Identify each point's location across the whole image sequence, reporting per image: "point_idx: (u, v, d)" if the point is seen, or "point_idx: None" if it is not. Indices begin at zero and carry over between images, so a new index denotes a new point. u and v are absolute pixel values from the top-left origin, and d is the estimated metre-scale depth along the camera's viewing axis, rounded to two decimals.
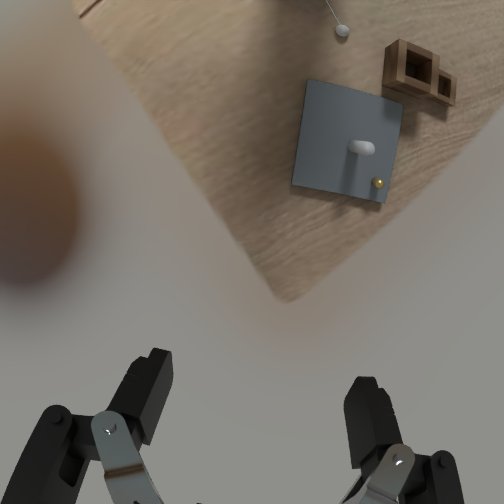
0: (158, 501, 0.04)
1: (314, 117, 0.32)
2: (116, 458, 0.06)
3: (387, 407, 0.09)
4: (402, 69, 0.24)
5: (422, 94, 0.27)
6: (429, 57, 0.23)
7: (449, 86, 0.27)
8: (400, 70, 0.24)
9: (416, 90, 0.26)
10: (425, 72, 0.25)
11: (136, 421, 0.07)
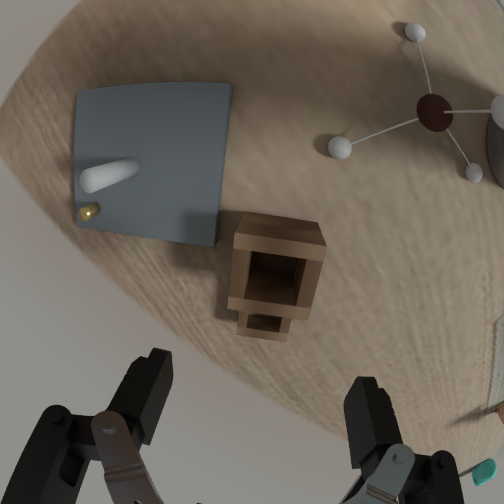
0: (158, 501, 0.04)
1: (165, 99, 0.19)
2: (116, 458, 0.06)
3: (387, 407, 0.09)
4: (259, 246, 0.19)
5: None
6: (299, 301, 0.20)
7: (268, 328, 0.25)
8: (256, 242, 0.18)
9: None
10: (274, 290, 0.22)
11: (136, 421, 0.07)
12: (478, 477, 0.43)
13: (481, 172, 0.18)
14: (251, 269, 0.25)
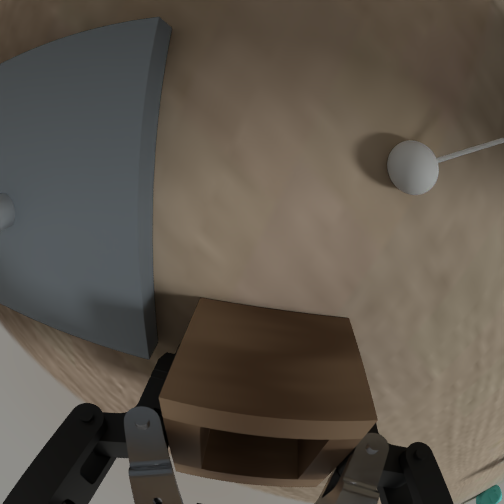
0: (179, 501, 0.05)
1: (40, 77, 0.07)
2: (144, 454, 0.06)
3: None
4: (221, 423, 0.07)
5: None
6: (304, 475, 0.08)
7: None
8: (212, 417, 0.07)
9: None
10: (260, 441, 0.10)
11: None
12: None
13: None
14: None
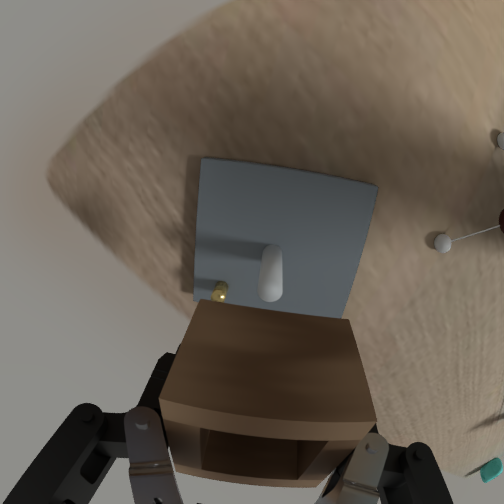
0: (180, 501, 0.05)
1: (315, 193, 0.21)
2: (144, 454, 0.06)
3: None
4: (221, 424, 0.07)
5: None
6: (304, 476, 0.08)
7: None
8: (212, 418, 0.07)
9: None
10: (260, 442, 0.10)
11: None
12: (486, 474, 0.46)
13: None
14: None
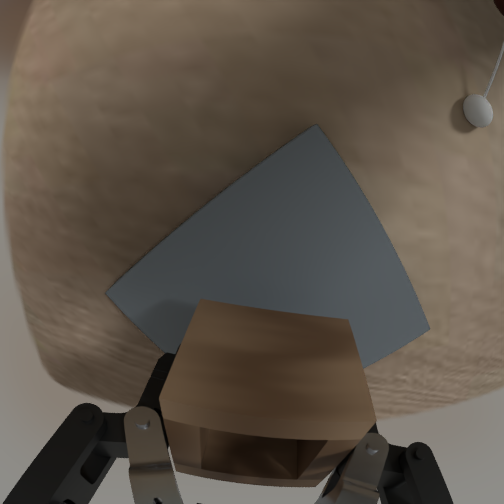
0: (180, 501, 0.05)
1: (242, 219, 0.12)
2: (144, 454, 0.06)
3: None
4: (221, 424, 0.07)
5: None
6: (303, 476, 0.08)
7: None
8: (212, 418, 0.07)
9: None
10: (260, 442, 0.10)
11: None
12: None
13: None
14: None
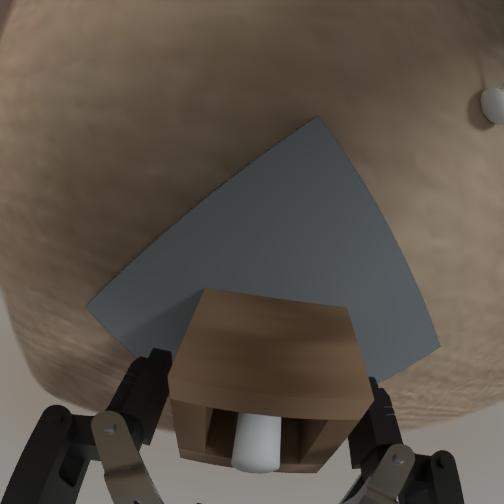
0: (158, 501, 0.04)
1: (231, 228, 0.11)
2: (116, 458, 0.06)
3: (387, 407, 0.09)
4: (226, 402, 0.07)
5: None
6: (305, 460, 0.09)
7: None
8: (218, 396, 0.07)
9: None
10: None
11: (136, 421, 0.07)
12: None
13: None
14: None
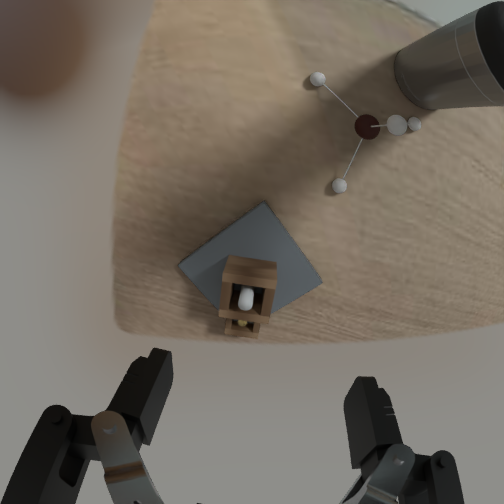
0: (158, 501, 0.04)
1: (238, 235, 0.35)
2: (116, 458, 0.06)
3: (387, 407, 0.09)
4: (237, 280, 0.31)
5: None
6: (262, 312, 0.33)
7: (246, 329, 0.38)
8: (235, 278, 0.31)
9: None
10: None
11: (136, 421, 0.07)
12: None
13: (417, 120, 0.27)
14: (234, 291, 0.37)
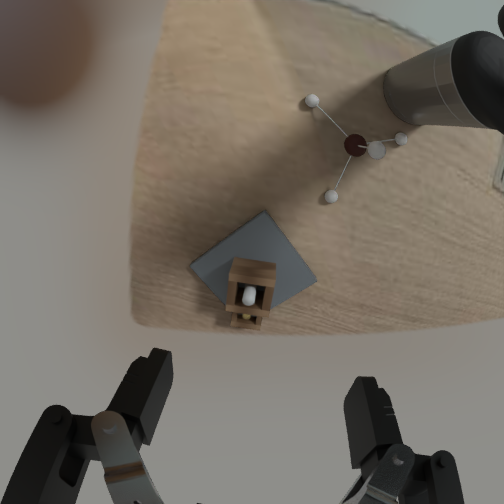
0: (158, 501, 0.04)
1: (242, 240, 0.40)
2: (116, 458, 0.06)
3: (387, 407, 0.09)
4: (241, 280, 0.37)
5: None
6: (263, 307, 0.38)
7: (249, 322, 0.44)
8: (240, 278, 0.37)
9: None
10: None
11: (136, 421, 0.07)
12: None
13: (404, 136, 0.32)
14: (239, 288, 0.43)
